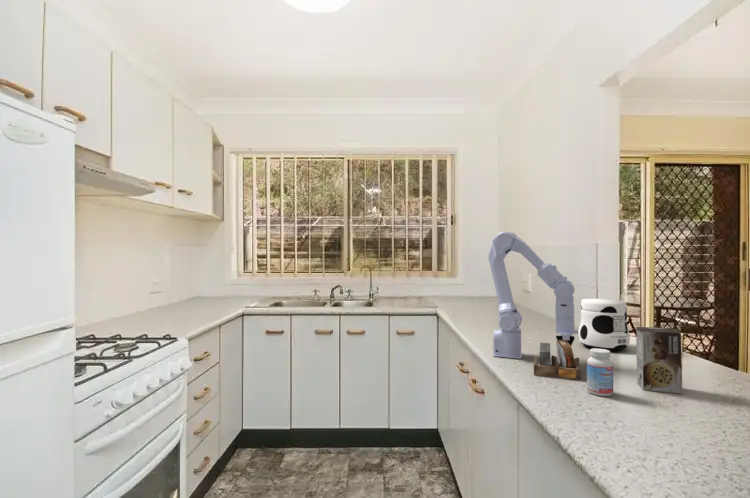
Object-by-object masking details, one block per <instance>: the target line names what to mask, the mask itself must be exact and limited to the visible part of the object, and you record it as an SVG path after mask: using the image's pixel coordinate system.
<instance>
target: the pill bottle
mask: <svg viewBox="0 0 750 498" xmlns="http://www.w3.org/2000/svg"><path fill="white" fill-rule="evenodd" d="M589 354H590V357H589V358H587V361H586V385H587V386H586V390H587V392H588V393H589V394H592V395H596V396H598V397H611V396H613V395H614V363H613V361H612V360H611V359H610V358H611V350H605V349H598V348H591V349H589Z"/></svg>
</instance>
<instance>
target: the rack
mask: <svg viewBox="0 0 750 498" xmlns="http://www.w3.org/2000/svg"><path fill="white" fill-rule="evenodd" d="M538 358H539V359H538ZM538 360H539V364H538ZM574 362H575V369H574V368H564V367H561V366H560V364H559V363H558V357H557V355H553V354H552V355H551V343H549V342H539V357H538V355H535V356H534V361H533V376H539V377H545V378H546V377H547V378H555V379H566V380H577V381H581V380H580V379H581V373H580V357H574Z"/></svg>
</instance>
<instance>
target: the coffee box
mask: <svg viewBox="0 0 750 498" xmlns="http://www.w3.org/2000/svg"><path fill="white" fill-rule="evenodd" d="M635 328H636V329H635V330H636V331H635V332H636V337H635V338H636V339H635V340H636V341H635V342H636V384H637V385H638V386H639V388H640V389H641V390H642V391H647V392H648V391H649V392H659V393H662V392H663V393H671V394H683V371H682V369H683V368H682V333H681V332H680V331H678V330H677V329H675V328H673V327H670V328H669V327H650V326H649V327H647V326H636V327H635Z"/></svg>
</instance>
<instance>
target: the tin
mask: <svg viewBox="0 0 750 498" xmlns="http://www.w3.org/2000/svg"><path fill="white" fill-rule="evenodd" d="M556 347H557V348H556V349H557V350H556V351H557V352H556V353H557V354H556V357H557V363H558V364H560V365H559V367H564V368H574V369H575V362H574V359H575V357H574V356H575V354H574V351H573V348H572V345H570V344H569V343H568V342H567V340H557V339H556Z"/></svg>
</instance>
